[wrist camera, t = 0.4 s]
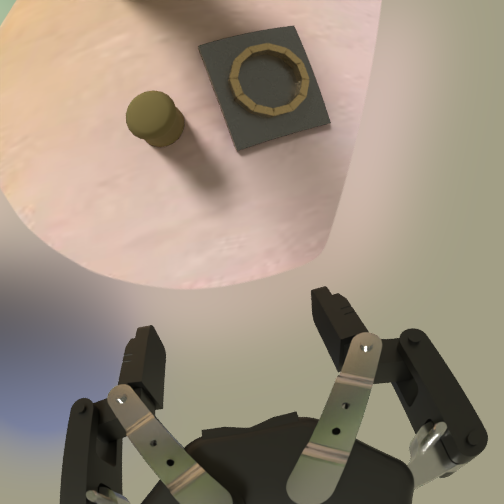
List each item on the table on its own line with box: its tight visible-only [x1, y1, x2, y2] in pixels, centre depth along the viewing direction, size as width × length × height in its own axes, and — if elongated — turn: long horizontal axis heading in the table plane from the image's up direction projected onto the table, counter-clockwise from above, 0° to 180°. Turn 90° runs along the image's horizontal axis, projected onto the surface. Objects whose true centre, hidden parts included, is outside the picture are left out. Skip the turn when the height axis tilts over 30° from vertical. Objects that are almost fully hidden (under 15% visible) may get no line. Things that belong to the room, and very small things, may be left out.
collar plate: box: [198, 26, 331, 151], centre depth 32 cm, size 16×14×3 cm
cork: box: [126, 91, 184, 147], centre depth 28 cm, size 6×6×11 cm
